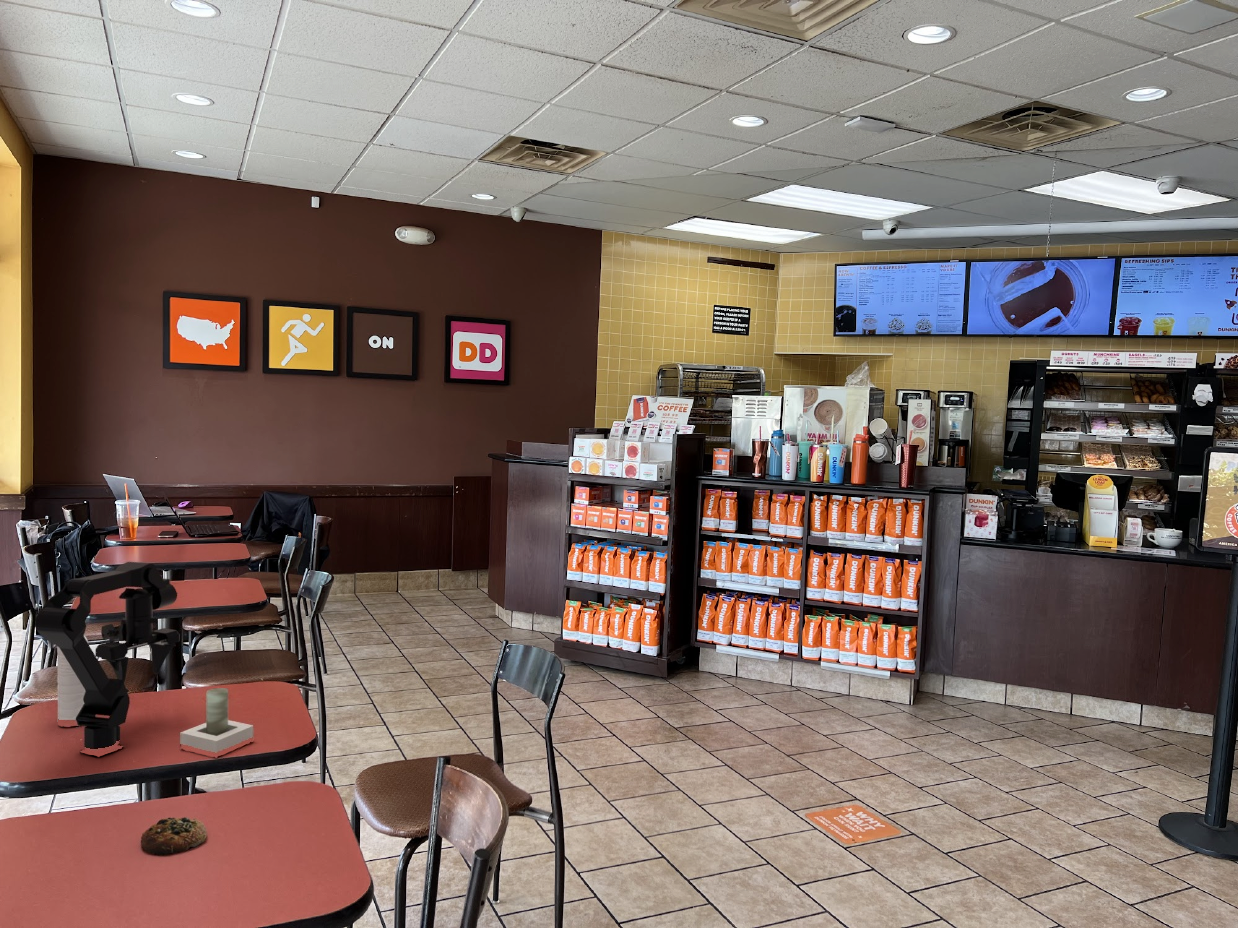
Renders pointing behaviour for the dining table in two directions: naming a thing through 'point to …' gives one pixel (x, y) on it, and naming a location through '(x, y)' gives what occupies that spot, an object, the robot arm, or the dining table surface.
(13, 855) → the dining table surface
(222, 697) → the green peg
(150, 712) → the dining table surface
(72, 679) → the water bottle
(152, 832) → the bread roll
